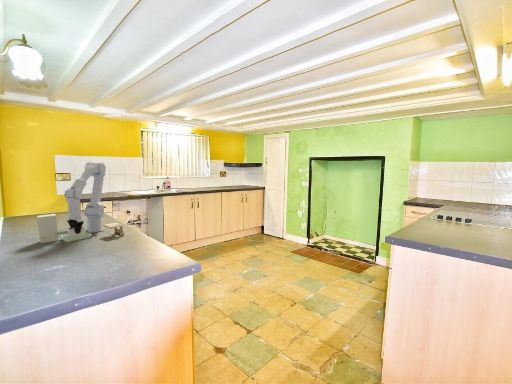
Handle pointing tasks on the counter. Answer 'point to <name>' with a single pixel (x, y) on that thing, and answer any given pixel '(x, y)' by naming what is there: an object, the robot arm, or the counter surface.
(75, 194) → the robot arm
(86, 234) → the tray
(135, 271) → the counter surface
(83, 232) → the white block with post
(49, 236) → the skincare box
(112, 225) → the beige block
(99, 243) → the counter surface
